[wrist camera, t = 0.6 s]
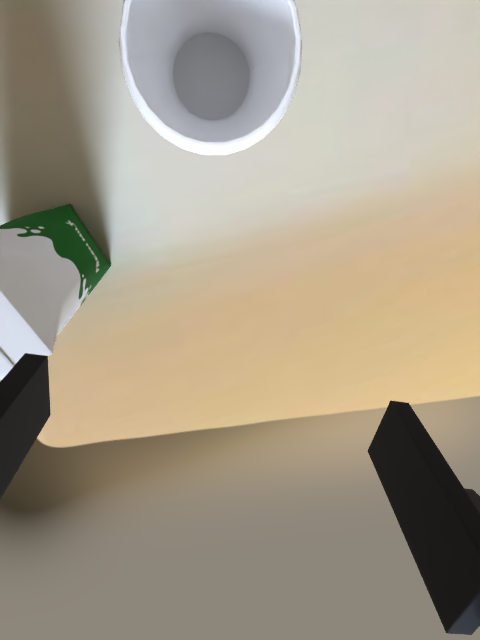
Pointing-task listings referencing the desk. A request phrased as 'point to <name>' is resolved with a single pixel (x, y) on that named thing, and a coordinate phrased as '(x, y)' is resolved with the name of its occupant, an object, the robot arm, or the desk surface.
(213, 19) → the cup
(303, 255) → the desk surface
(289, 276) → the desk surface
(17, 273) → the milk carton
